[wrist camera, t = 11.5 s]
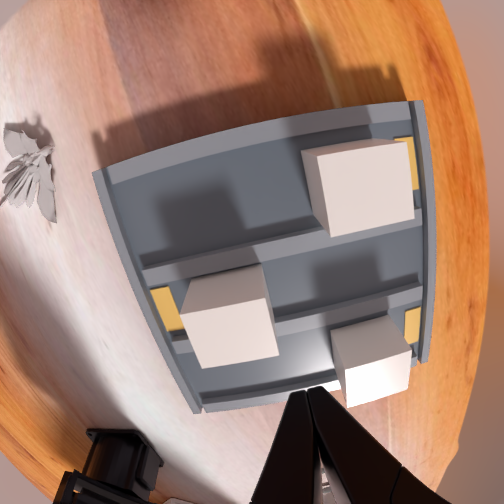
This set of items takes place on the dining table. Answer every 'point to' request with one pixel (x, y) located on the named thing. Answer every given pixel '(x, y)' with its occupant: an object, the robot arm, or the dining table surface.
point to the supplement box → (176, 501)
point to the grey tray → (272, 246)
